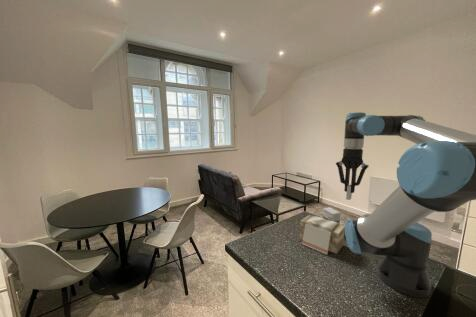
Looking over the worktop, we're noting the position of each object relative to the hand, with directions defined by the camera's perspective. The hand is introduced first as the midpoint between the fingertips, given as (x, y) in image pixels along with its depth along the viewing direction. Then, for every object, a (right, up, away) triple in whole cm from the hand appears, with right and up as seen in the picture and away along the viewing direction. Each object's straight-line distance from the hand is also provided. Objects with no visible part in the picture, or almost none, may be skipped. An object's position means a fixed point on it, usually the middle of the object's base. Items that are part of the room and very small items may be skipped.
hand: (348, 198), depth 90 cm
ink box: (+1, -22, +20) cm, 30 cm away
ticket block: (-9, -23, +8) cm, 27 cm away
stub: (-14, -19, +3) cm, 24 cm away
